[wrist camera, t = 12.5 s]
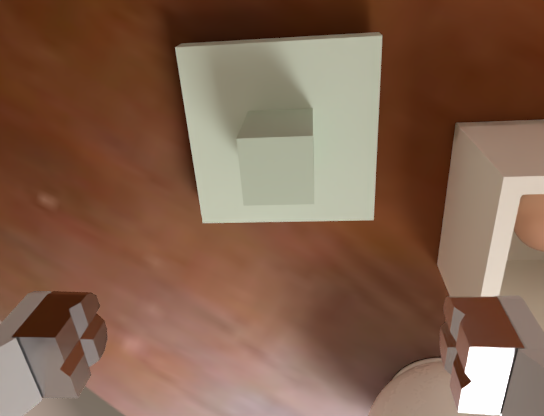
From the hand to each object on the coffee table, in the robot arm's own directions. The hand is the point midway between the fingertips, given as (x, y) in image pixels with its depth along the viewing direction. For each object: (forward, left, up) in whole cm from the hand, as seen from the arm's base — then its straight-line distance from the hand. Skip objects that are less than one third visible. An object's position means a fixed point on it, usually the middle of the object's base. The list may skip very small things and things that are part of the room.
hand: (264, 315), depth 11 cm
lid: (0, 0, -12) cm, 12 cm away
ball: (-12, +4, -11) cm, 16 cm away
